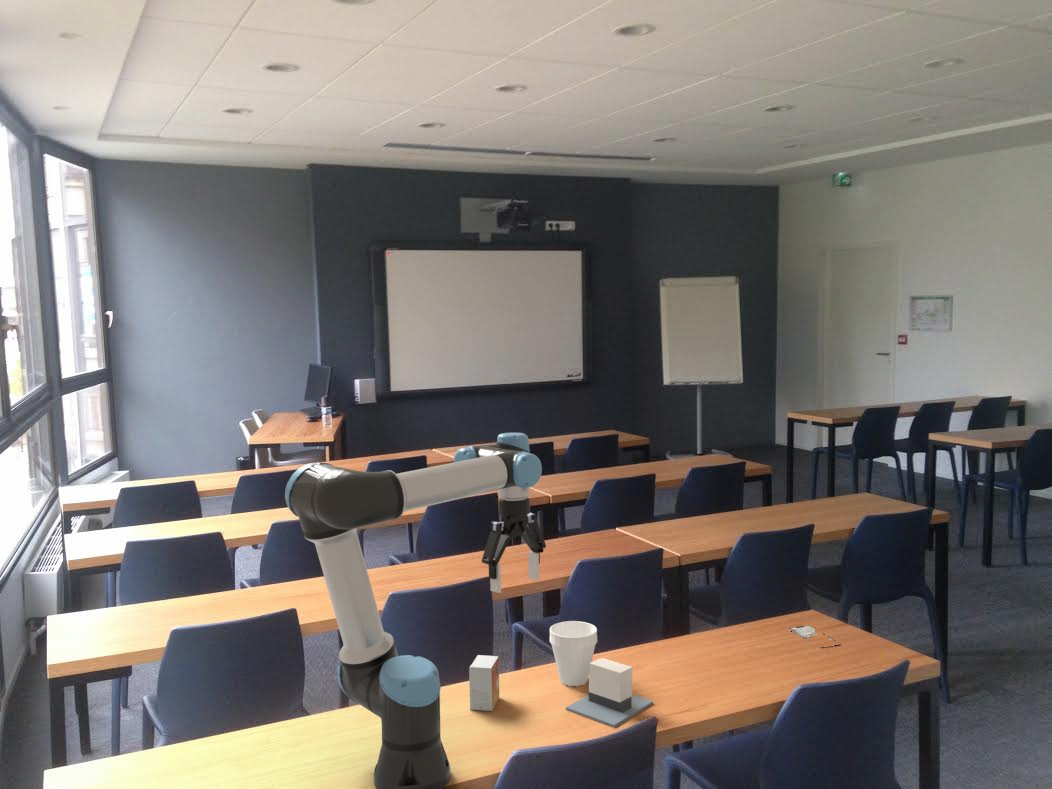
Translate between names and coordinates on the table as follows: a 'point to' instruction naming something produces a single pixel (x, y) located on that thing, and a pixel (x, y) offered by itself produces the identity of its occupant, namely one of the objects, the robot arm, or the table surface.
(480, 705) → the small box
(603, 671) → the block
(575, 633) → the cup
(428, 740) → the robot arm
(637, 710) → the header
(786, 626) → the table surface
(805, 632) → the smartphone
